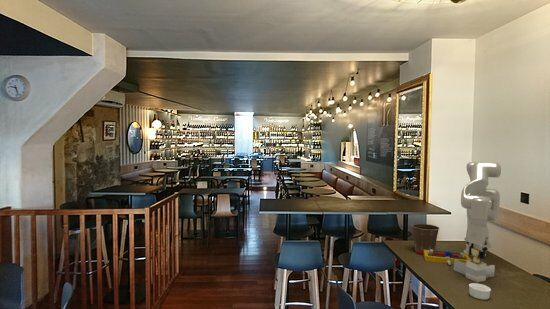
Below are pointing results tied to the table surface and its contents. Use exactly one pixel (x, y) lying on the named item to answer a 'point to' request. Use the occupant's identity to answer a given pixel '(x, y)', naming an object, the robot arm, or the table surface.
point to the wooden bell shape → (475, 254)
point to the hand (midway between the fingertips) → (476, 256)
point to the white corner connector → (474, 270)
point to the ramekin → (479, 291)
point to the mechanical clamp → (446, 257)
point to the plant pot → (425, 236)
